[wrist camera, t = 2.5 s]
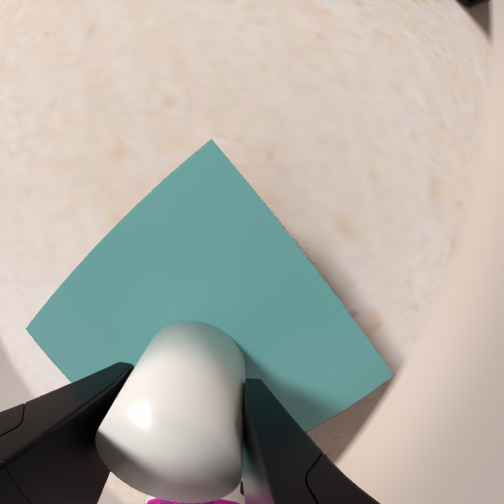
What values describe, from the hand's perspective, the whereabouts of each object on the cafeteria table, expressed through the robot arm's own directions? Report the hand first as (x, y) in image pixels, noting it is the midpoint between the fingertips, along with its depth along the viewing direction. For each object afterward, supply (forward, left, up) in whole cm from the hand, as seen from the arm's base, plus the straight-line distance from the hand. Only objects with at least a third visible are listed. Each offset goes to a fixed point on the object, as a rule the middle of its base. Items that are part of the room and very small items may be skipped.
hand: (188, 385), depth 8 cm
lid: (0, 0, -2) cm, 2 cm away
